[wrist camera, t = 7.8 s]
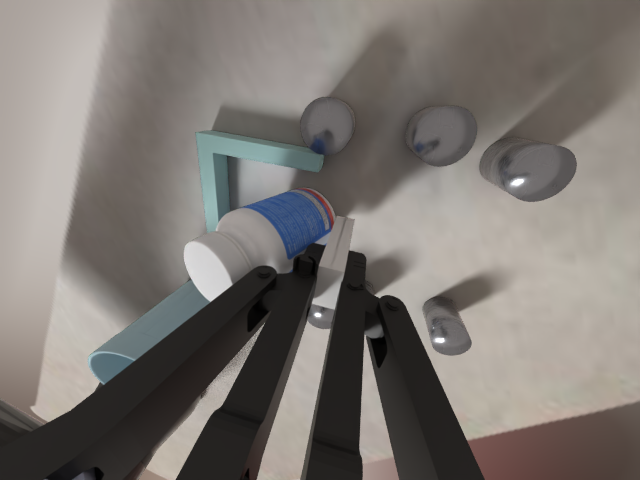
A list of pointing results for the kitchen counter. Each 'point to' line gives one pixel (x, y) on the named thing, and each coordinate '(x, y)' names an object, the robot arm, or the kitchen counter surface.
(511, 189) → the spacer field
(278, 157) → the teal bay
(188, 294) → the cup
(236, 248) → the pill bottle
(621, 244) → the kitchen counter surface
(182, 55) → the kitchen counter surface
